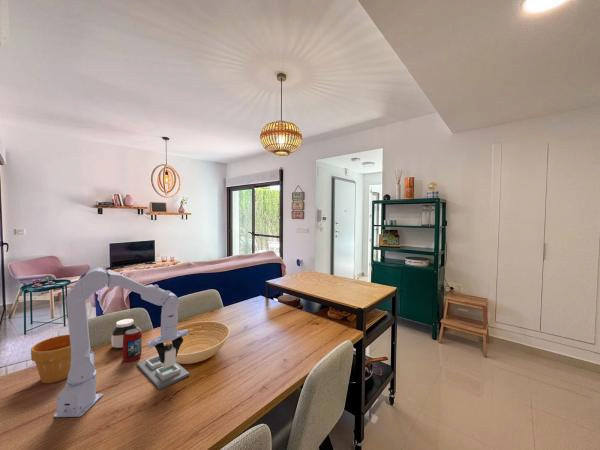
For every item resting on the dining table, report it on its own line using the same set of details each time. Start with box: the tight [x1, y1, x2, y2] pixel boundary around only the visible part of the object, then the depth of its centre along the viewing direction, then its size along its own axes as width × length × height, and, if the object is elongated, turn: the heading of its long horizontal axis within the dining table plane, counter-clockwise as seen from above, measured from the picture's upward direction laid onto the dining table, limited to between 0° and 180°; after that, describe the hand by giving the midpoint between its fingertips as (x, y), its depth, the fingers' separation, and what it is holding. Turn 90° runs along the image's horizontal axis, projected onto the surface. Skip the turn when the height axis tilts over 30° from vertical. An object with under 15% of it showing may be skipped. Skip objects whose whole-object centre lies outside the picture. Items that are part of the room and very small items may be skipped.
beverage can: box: [122, 327, 143, 362], centre depth 107 cm, size 7×7×12 cm
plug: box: [160, 343, 177, 368], centre depth 96 cm, size 4×4×8 cm
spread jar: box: [110, 318, 142, 350], centre depth 119 cm, size 12×11×12 cm
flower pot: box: [30, 334, 71, 384], centre depth 94 cm, size 14×14×13 cm
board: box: [136, 354, 190, 390], centre depth 99 cm, size 22×11×2 cm, turn 51°
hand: (168, 359), depth 96 cm, fingers closed on plug, 4 cm apart
